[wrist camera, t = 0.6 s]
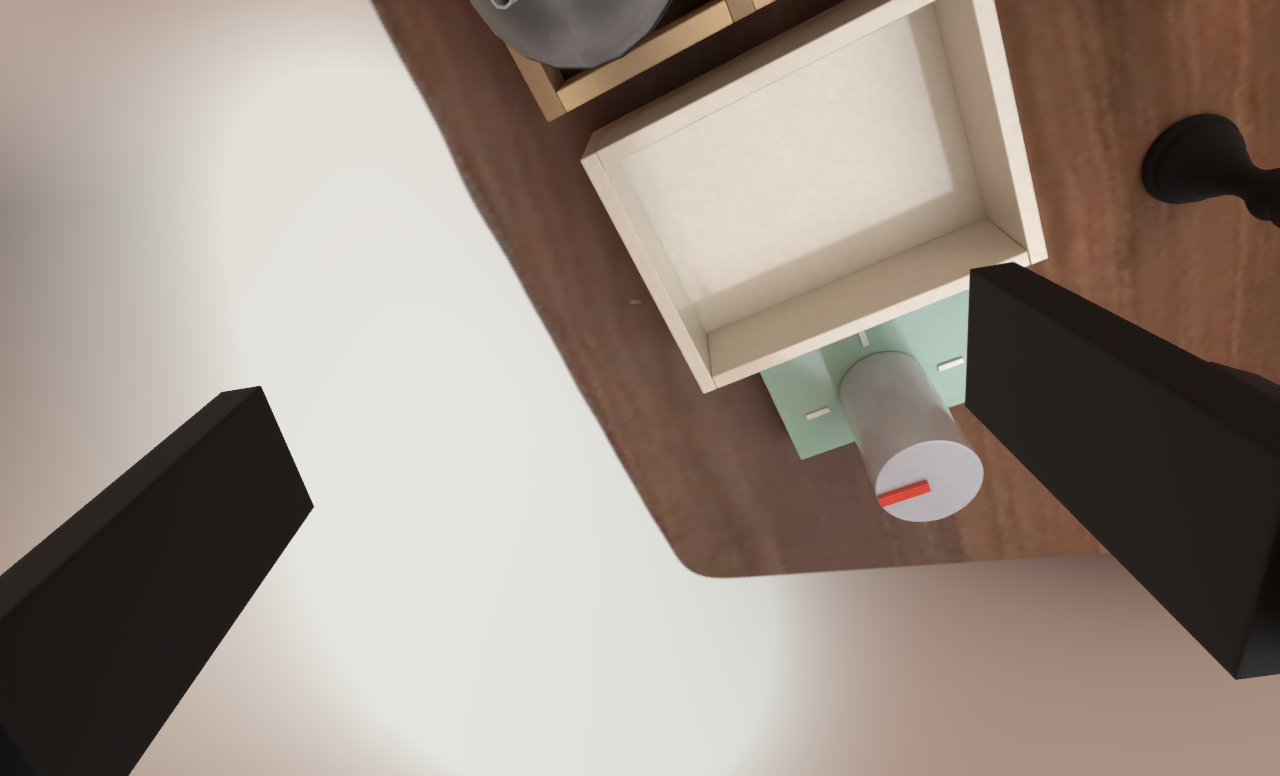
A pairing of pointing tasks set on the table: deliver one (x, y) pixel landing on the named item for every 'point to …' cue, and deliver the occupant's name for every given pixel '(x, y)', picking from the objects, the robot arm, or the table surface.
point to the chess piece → (1210, 167)
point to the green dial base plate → (815, 377)
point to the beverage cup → (572, 28)
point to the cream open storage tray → (822, 182)
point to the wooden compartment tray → (629, 57)
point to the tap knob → (908, 439)
